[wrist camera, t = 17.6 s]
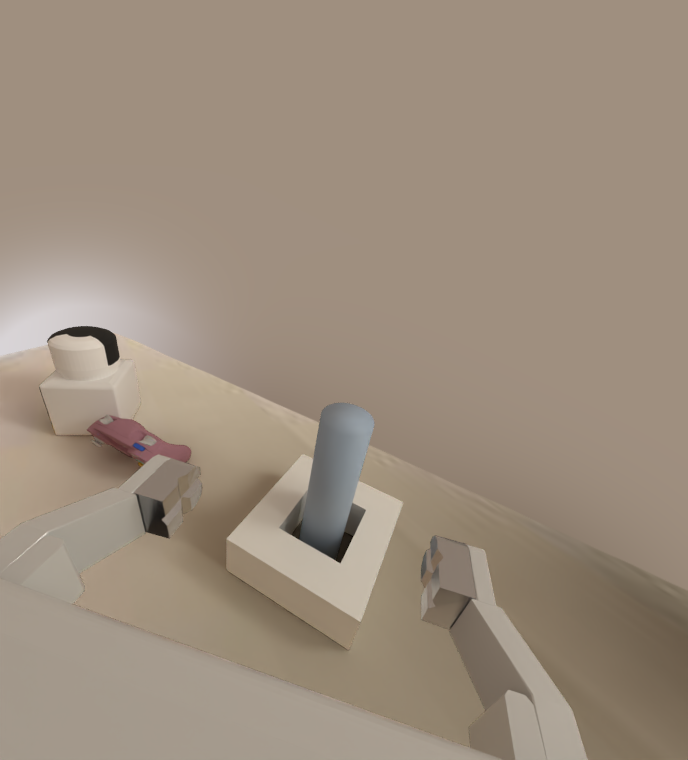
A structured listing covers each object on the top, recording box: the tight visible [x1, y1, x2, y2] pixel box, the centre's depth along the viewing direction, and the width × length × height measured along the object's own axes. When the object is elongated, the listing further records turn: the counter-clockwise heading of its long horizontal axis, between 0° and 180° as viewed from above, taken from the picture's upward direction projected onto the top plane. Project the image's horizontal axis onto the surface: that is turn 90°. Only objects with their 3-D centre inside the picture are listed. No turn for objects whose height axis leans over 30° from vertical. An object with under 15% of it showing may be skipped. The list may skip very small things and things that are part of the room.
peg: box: [299, 403, 374, 560], centre depth 27 cm, size 4×4×16 cm
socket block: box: [226, 454, 403, 650], centre depth 30 cm, size 12×12×4 cm
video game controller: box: [87, 414, 191, 467], centre depth 35 cm, size 10×5×7 cm, turn 68°
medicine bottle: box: [39, 326, 141, 435], centre depth 38 cm, size 7×7×12 cm
